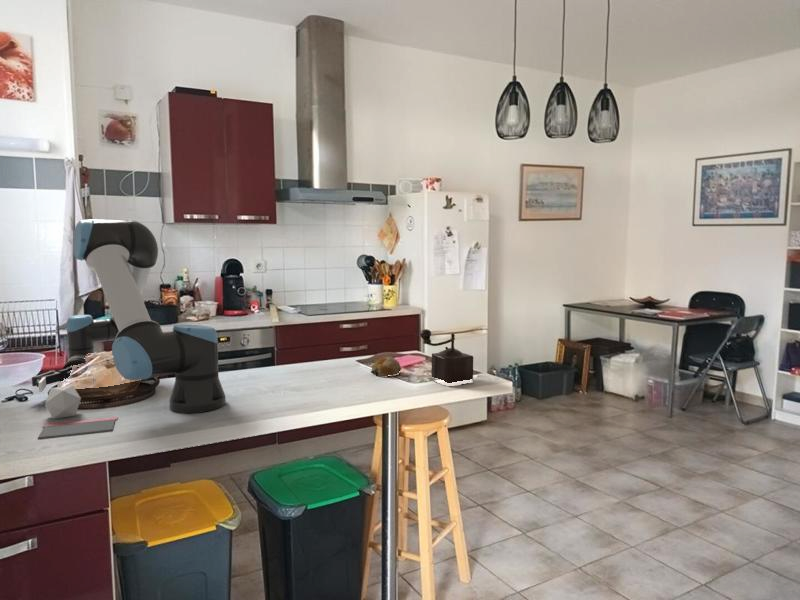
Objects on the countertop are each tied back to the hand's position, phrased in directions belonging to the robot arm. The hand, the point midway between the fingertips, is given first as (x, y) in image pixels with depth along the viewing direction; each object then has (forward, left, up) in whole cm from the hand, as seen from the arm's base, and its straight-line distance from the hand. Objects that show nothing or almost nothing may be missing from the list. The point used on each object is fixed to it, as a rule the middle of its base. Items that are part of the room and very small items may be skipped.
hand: (68, 385), depth 164 cm
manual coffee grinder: (-112, +15, -6) cm, 113 cm away
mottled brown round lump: (-98, -3, -6) cm, 98 cm away
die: (0, +10, -6) cm, 12 cm away
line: (-5, +18, -6) cm, 19 cm away
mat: (-5, +24, -6) cm, 25 cm away
